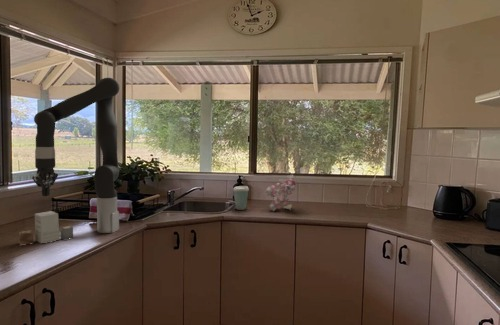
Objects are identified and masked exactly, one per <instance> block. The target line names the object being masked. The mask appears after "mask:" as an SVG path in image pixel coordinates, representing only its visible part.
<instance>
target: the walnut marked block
mask: <svg viewBox="0 0 500 325" xmlns="http://www.w3.org/2000/svg"><path fill="white" fill-rule="evenodd" d="M34 241H35V239H34V231H33V230H32V229H31V230H25V231H24V230H23V231H19V232H18V243H19V244H20V245H21V244H30V243H34ZM34 244H35V243H34ZM20 245H19V246H20Z"/></svg>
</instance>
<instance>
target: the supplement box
mask: <svg viewBox="0 0 500 325" xmlns="http://www.w3.org/2000/svg"><path fill="white" fill-rule="evenodd" d="M59 223H60V222H59V213H58V212H55V211H52V210H49V211H43V212H38V213H34V228H35V229H34V230H35V233H34V234H35V242H37V241H38V242H40V243H46V242H50V243H52V242H51V241H55V242H57V241H56V240H59V241H60V229H59ZM38 242H37V243H38ZM40 243H39V244H40ZM46 244H47V243H46Z"/></svg>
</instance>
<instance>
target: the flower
mask: <svg viewBox="0 0 500 325" xmlns="http://www.w3.org/2000/svg"><path fill="white" fill-rule="evenodd" d="M295 185H297V181H296V175H293V172H292V173H291V174H290V175H288V174H287V179H285V176H284V177H283V178H278V182H277V183H276V186H275V185H273V184H272V185H270V186H268V187H267V188H266V189H264V190H265V191H264V194H266V196H267V197H269V196H270V197H271V198H274V199H273V200H272V201H271V203H270V204H269V208H270V209H269V210H270V211H272V212H276V210H280V209H281V205H279V204H283V209H286V210H290V211H292V206H293V205H292V204H288V202H289V201H290V199H289V198H290V197H289V195H292V194H293V192H294V191H295V190H296V188H295V187H296V186H295ZM278 186H279V188H278V189H277V188H276V187H278ZM276 194H277V195H279V197H276Z"/></svg>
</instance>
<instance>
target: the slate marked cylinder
mask: <svg viewBox="0 0 500 325" xmlns="http://www.w3.org/2000/svg"><path fill="white" fill-rule="evenodd" d="M69 238H73V239H74V227H73V226H69V225H68V226H67V225H66V226H63V227H60V240H61V239H69Z"/></svg>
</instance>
